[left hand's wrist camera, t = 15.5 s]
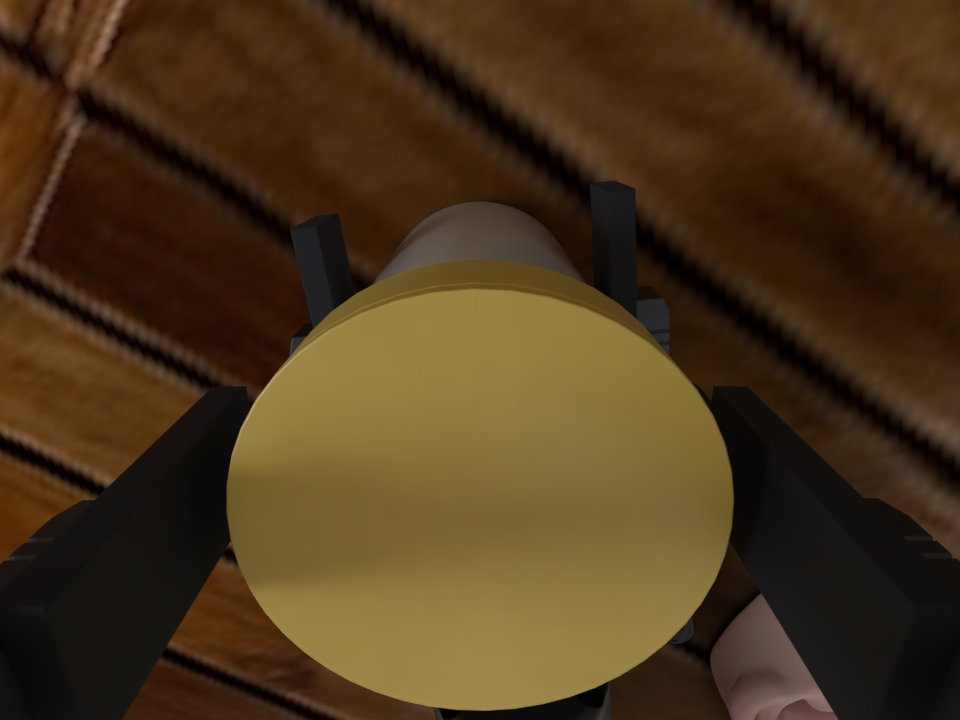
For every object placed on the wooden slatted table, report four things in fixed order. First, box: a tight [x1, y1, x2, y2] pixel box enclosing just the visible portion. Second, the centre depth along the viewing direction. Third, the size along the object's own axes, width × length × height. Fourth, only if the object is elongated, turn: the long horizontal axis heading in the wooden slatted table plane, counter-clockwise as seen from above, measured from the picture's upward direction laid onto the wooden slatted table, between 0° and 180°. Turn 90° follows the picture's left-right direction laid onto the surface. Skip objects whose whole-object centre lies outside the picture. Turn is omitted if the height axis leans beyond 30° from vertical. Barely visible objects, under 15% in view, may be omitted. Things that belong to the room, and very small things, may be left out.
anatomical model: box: [710, 593, 838, 720], centre depth 31 cm, size 13×4×12 cm
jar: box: [372, 202, 588, 285], centre depth 18 cm, size 8×8×15 cm
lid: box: [226, 259, 734, 711], centre depth 11 cm, size 9×9×2 cm
